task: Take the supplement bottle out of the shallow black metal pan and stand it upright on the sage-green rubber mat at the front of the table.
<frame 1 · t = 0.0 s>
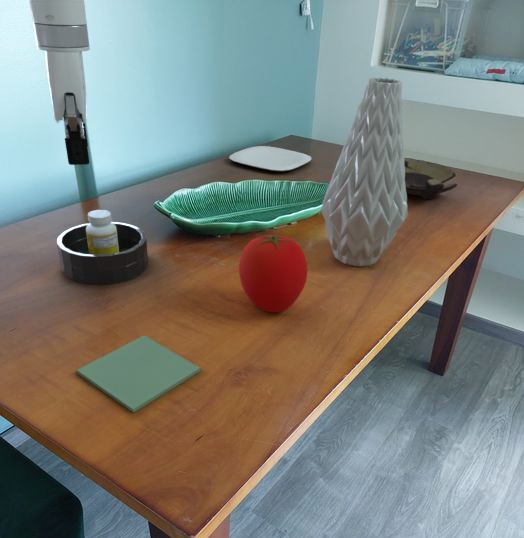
hand: (78, 155, 89), 20 cm above the table, tool pointing down, fingers open, 9 cm apart
mat: (139, 372, 75), on the table
oil lamp: (411, 193, 146), on the table
supplement bottle: (105, 263, 100), resting on pan
vase: (356, 258, 109), on the table
tomato: (271, 308, 91), on the table
pan: (105, 265, 101), on the table
plate: (270, 163, 162), on the table
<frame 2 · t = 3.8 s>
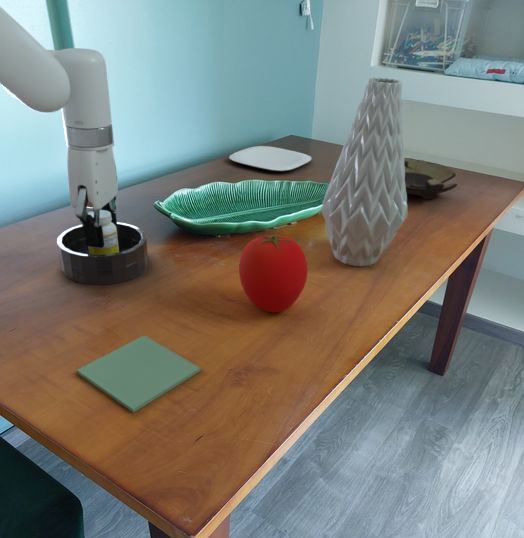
hand: (102, 238, 97), 5 cm above the table, tool pointing down, fingers closed on supplement bottle, 5 cm apart
supplement bottle: (105, 263, 100), resting on pan, touching gripper
everything else where it was.
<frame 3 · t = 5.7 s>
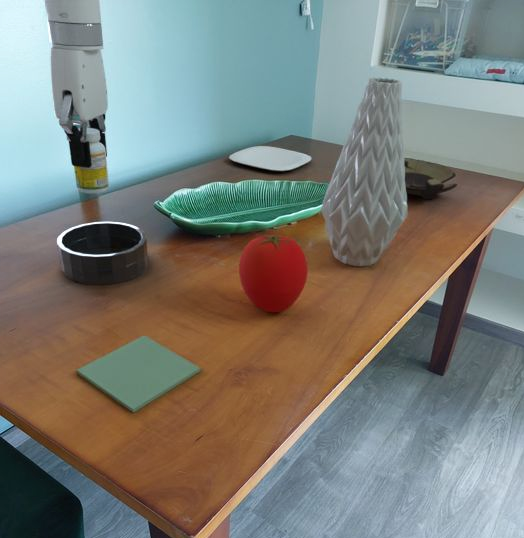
hand: (89, 160, 89), 19 cm above the table, tool pointing down, fingers closed on supplement bottle, 5 cm apart
supplement bottle: (93, 190, 92), point 14 cm above the table, touching gripper
everything else where it was.
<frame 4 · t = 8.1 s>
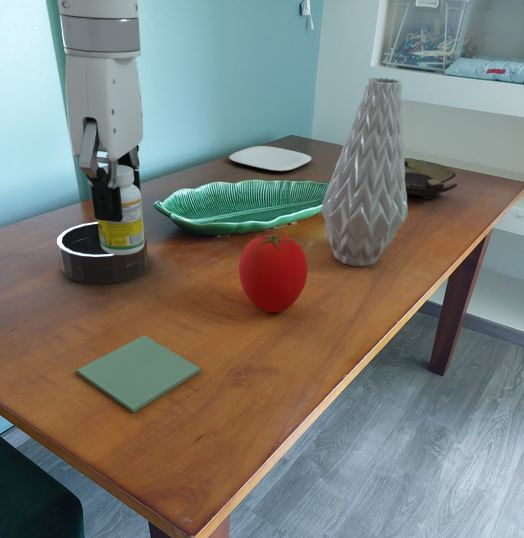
hand: (119, 209, 64), 22 cm above the table, tool pointing down, fingers closed on supplement bottle, 5 cm apart
supplement bottle: (123, 248, 67), point 17 cm above the table, touching gripper
everything else where it was.
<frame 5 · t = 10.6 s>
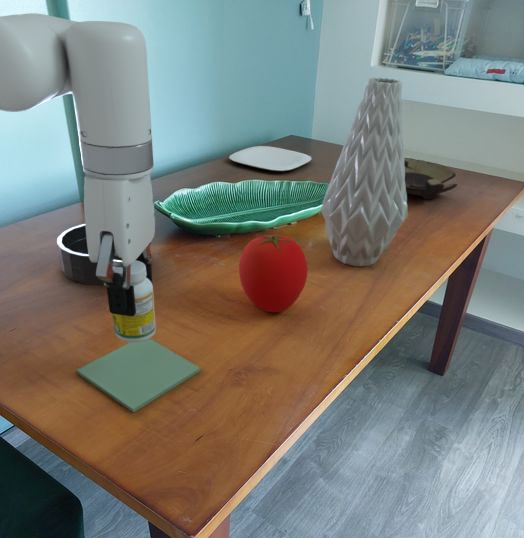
hand: (132, 300, 68), 12 cm above the table, tool pointing down, fingers closed on supplement bottle, 5 cm apart
supplement bottle: (135, 333, 71), point 6 cm above the table, touching gripper
everything else where it was.
when the fingers open (5 cm above the table, at t = 12.5 s): supplement bottle stays where it is, resting on mat.
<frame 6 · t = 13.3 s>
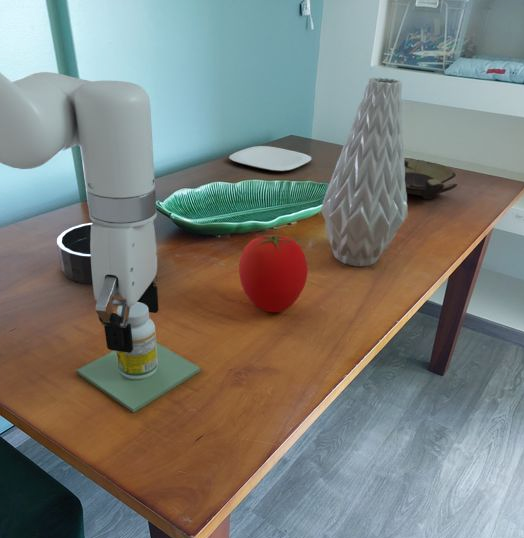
hand: (134, 329, 70), 7 cm above the table, tool pointing down, fingers open, 9 cm apart
supplement bottle: (138, 369, 74), resting on mat
everything else where it was.
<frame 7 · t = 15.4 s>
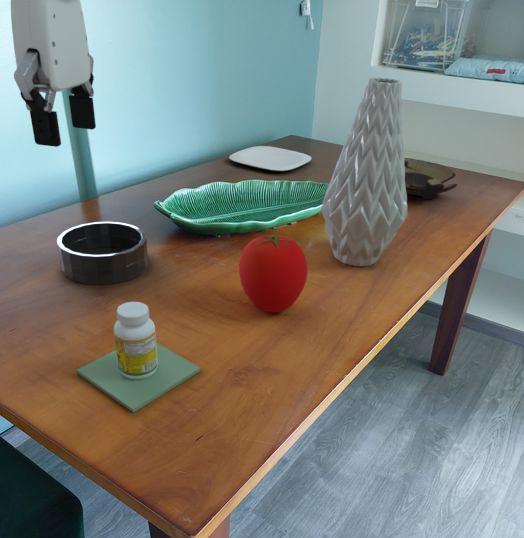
hand: (67, 136, 70), 28 cm above the table, tool pointing down, fingers open, 9 cm apart
nothing on the table moved.
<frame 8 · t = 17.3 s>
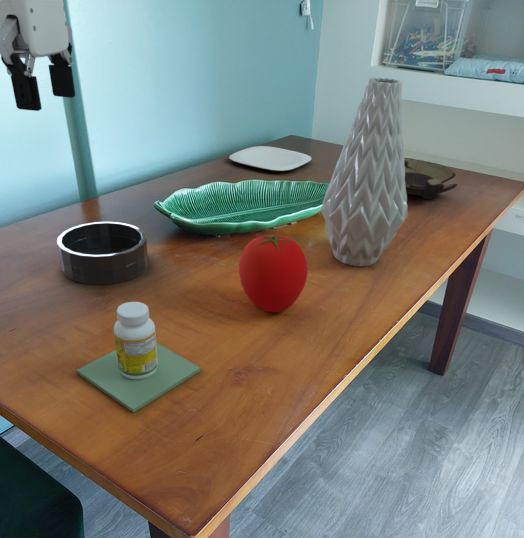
hand: (47, 102, 74), 30 cm above the table, tool pointing down, fingers open, 9 cm apart
nothing on the table moved.
at the end: supplement bottle inside the target area on the mat (0.1 cm from its centre), point 0.4 cm above the mat's base; supplement bottle tilted 0°; the gripper is holding nothing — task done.
